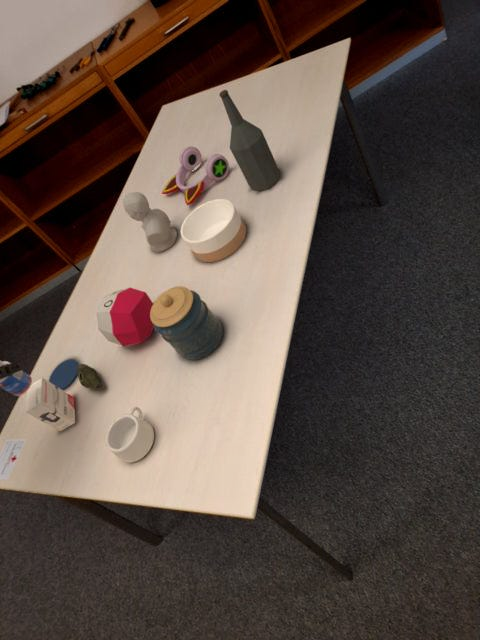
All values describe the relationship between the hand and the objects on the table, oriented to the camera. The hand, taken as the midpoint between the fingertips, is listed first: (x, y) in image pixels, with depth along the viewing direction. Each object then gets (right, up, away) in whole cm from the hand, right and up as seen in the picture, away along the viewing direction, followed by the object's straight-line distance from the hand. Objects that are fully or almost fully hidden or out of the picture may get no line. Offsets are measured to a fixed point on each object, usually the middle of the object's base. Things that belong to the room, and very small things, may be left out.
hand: (8, 368), depth 100 cm
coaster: (+3, -5, +25) cm, 26 cm away
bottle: (+61, +55, +38) cm, 90 cm away
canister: (+43, +6, +11) cm, 44 cm away
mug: (+29, -16, +1) cm, 34 cm away
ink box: (+7, -14, +16) cm, 22 cm away
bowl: (+47, +35, +30) cm, 66 cm away
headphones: (+38, +59, +55) cm, 88 cm away
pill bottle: (+2, -4, +3) cm, 6 cm away
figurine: (+28, +37, +43) cm, 63 cm away
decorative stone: (+14, -5, +18) cm, 24 cm away
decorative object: (+26, +8, +22) cm, 35 cm away
